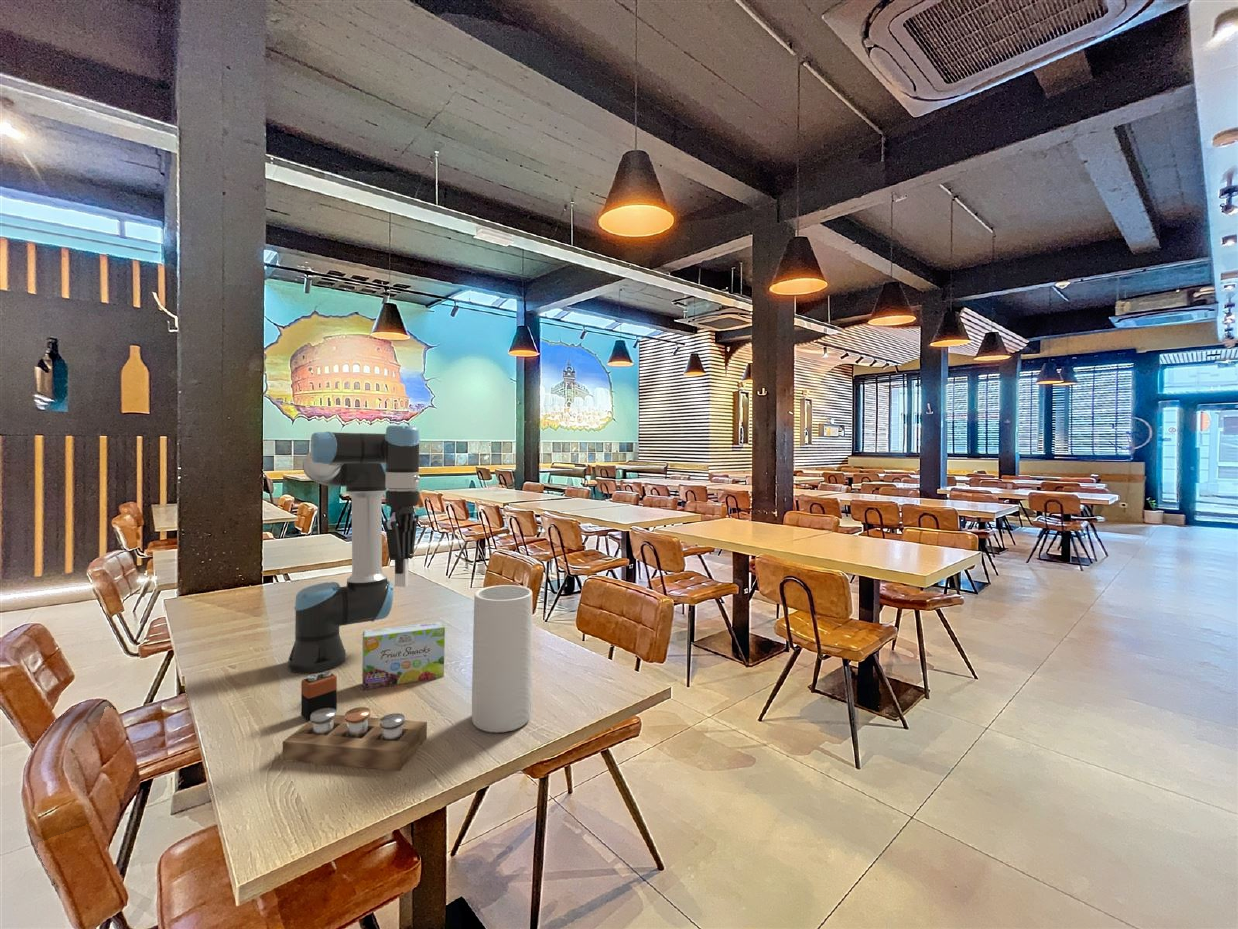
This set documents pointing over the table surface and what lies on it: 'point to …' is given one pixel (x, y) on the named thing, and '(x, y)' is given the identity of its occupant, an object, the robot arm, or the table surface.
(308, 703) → the battery
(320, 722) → the plug
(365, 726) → the plug mid
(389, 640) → the snack box
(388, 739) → the plug
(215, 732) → the table surface
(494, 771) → the table surface
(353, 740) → the wooden jar holder
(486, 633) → the vase
